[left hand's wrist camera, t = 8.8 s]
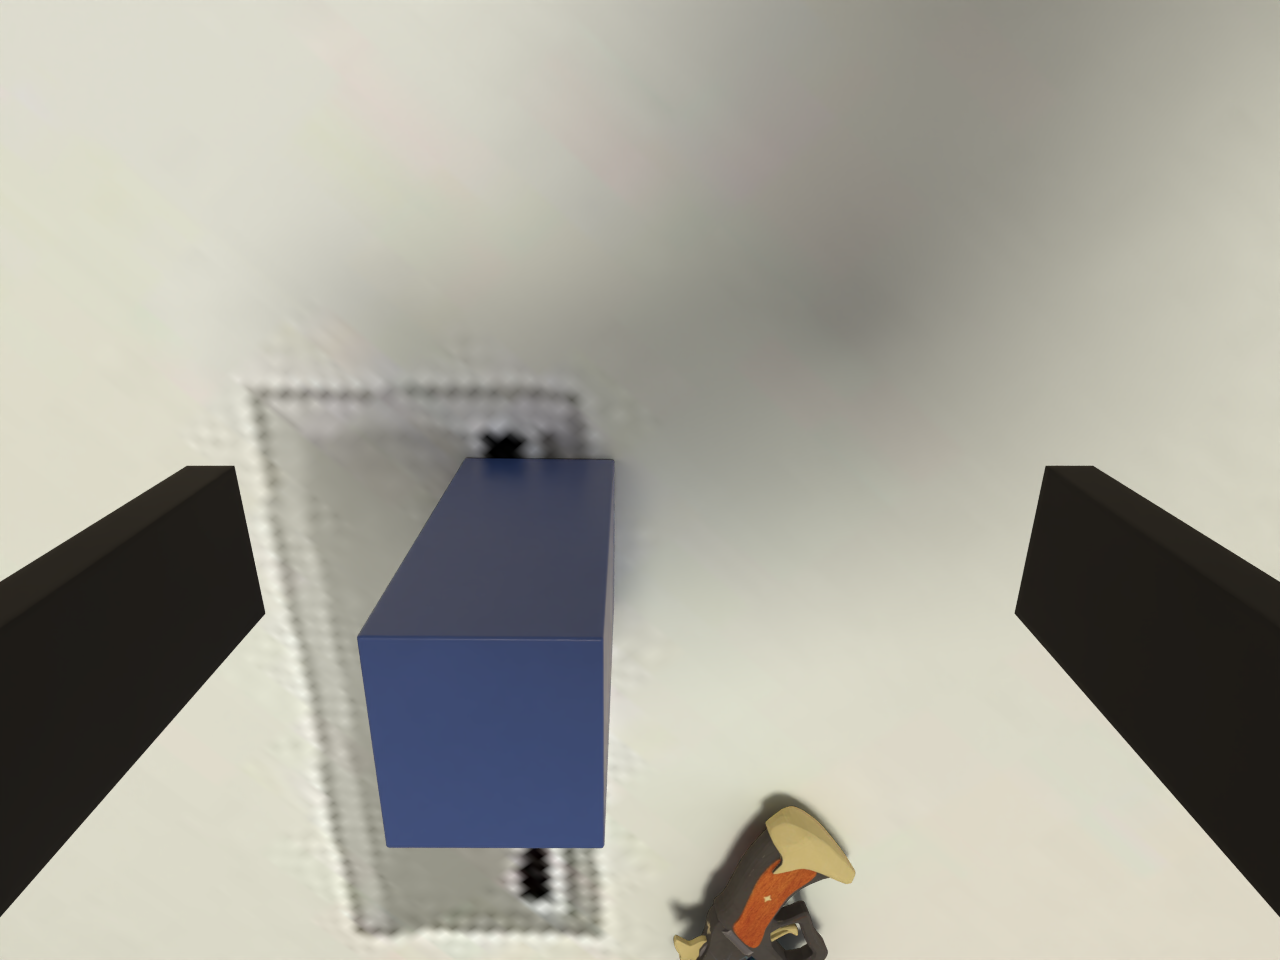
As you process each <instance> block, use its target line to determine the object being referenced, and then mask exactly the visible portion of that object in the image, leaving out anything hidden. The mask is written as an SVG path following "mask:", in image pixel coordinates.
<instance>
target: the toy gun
mask: <svg viewBox="0 0 1280 960" xmlns="http://www.w3.org/2000/svg"><path fill="white" fill-rule="evenodd" d="M766 826H767V829H766V830H764V831H763V832H762V834H761V835H760V836H759V837H758V838H757V839H756V840H755V842H754V843H753V844H752V845H751V846H750V848H749V849H748V850H747V852H746V853H745V855H744V856H743V857H742V859H741V861H740V862H739V864H738V866H737V868H736V870H735V871H734V873H733V875H732V877H731V879H730V881H729V883H728V885H727V886H726V888H725V889H724V890H723V892H722V893H720V894H719V895H718V896H717V897H716V898H715V899H714V904H713V905H712V907H711V908H710V909H709V911H708V914H707V918H706V924H705V928H704V930H703V933H702V935H701V936H699V937H696V938H694V939H692V940H690V941H688V940H686V939H684V938H682V937H680V936H678V935H675V936H674V939H673V940H674V945H675V948H676V950H677V952H678V953H679V957H680V960H825V958H826V956H827V954H828V950H827V948H826V946H825V943H824V941H823V938H822V937H821V936H820V934H819V933H818V932H817V931H816V930H815V928H814V927H813V925H812V921H811V917H810V914H809V912H808V909H807V907H806V905H805V902H804V901H798V902H795V903H793V904H790V905H788V906H785V907H782V906H783V905H784V904H785V903H786V902H787V901H788V899H789V898H790V897H791V896H792V895H793V894H794V893H796V892H797V891H799V890H800V889H802V888H804V887H806V886H808V885H810V884H812V883H815V882H817V881H820V880H822V879H826V878H832V879H835V880H837V881H840V882H842V883H845V884H849V883H852V881H853V878H854V876H855V870H854V868H853V867H852V865H851V863H850V862H849V860H848V858H847V857H846V855H845V854H844V853H843V851H842V850H841V848H840V847H839V846H838V844H837V843H836V842H835V841H834V839H833V838H832V837H831V836H830V835H829V833H828V832H827V831H826V830H825V828H824V827H823V826H822V825H821V824H820V823H819V822H818V821H817V820H816V819H814V818H813V817H812V816H810V815H809V814H808V813H806V812H805V811H803V810H801V809H799V808H797V807H794V806H789V807H786V808H783V809H781V810H780V811H778V812H777V813H776V814H775V815H773V816H772V817H771V818H770V819H768V820H767V821H766ZM795 923H799V924H800V927H801V929H802V932H803V935H804V937H805V940H806V942H807V944H806V945H804V946H802V947H801V948H797V949H793V950H785V949H784V948H783V947H782V946H781V945H780V944H779V943H778V942H777V941H776V939H778V938H779V937H781V936H783V935H785V934H787V933H792V934H794V935H796V936H797V935H798V929H797V926H796V924H795Z"/></svg>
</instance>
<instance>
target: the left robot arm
mask: <svg viewBox="0 0 1280 960" xmlns="http://www.w3.org/2000/svg"><path fill="white" fill-rule="evenodd" d="M264 614H265V609H264V605H263V600H262V595H261V590H260V586H259V581H258V576H257V571H256V566H255V562H254V557H253V552H252V547H251V543H250V538H249V533H248V528H247V524H246V519H245V514H244V509H243V505H242V500H241V495H240V490H239V486H238V481H237V476H236V471H235V467H234V466H186V467H184V468H183V469H181V470H180V471H178V472H176V473H175V474H173V475H171V476H170V477H168V478H167V479H165V480H163V481H162V482H160V483H159V484H157V485H155V486H154V487H152V488H151V489H149V490H147V491H146V492H144V493H143V494H141V495H139V496H138V497H136V498H134V499H133V500H131V501H130V502H128V503H126V504H125V505H123V506H122V507H120V508H118V509H117V510H115V511H114V512H112V513H110V514H109V515H107V516H105V517H104V518H102V519H101V520H99V521H97V522H96V523H94V524H93V525H91V526H89V527H88V528H86V529H85V530H83V531H81V532H80V533H78V534H77V535H75V536H73V537H72V538H70V539H68V540H67V541H65V542H64V543H62V544H60V545H59V546H57V547H56V548H54V549H52V550H51V551H49V552H48V553H46V554H44V555H43V556H41V557H39V558H38V559H36V560H35V561H33V562H31V563H30V564H28V565H27V566H25V567H23V568H22V569H20V570H19V571H17V572H15V573H14V574H12V575H11V576H9V577H7V578H6V579H4V580H2V581H1V582H0V917H1V916H2V914H3V913H4V912H5V911H6V910H7V909H8V908H9V906H10V905H11V904H12V903H13V902H14V901H15V900H16V898H17V897H18V896H19V895H20V894H21V893H22V892H23V890H24V889H25V888H26V887H27V886H28V885H29V884H30V882H31V881H32V880H33V879H34V878H35V877H36V876H37V874H38V873H39V872H40V871H41V870H42V869H43V868H44V866H45V865H46V864H47V863H48V862H49V861H50V859H51V858H52V857H53V856H54V855H55V854H56V853H57V851H58V850H59V849H60V848H61V847H62V846H63V845H64V843H65V842H66V841H67V840H68V839H69V838H70V837H71V835H72V834H73V833H74V832H75V831H76V830H77V829H78V827H79V826H80V825H81V824H82V823H83V822H84V821H85V819H86V818H87V817H88V816H89V815H90V814H91V813H92V811H93V810H94V809H95V808H96V807H97V806H98V805H99V803H100V802H101V801H102V800H103V799H104V798H105V797H106V795H107V794H108V793H109V792H110V791H111V790H112V788H113V787H114V786H115V785H116V784H117V783H118V782H119V780H120V779H121V778H122V777H123V776H124V775H125V774H126V772H127V771H128V770H129V769H130V768H131V767H132V766H133V764H134V763H135V762H136V761H137V760H138V759H139V758H140V756H141V755H142V754H143V753H144V752H145V751H146V750H147V748H148V747H149V746H150V745H151V744H152V743H153V742H154V740H155V739H156V738H157V737H158V736H159V735H160V734H161V732H162V731H163V730H164V729H165V728H166V727H167V726H168V724H169V723H170V722H171V721H172V720H173V719H174V717H175V716H176V715H177V714H178V713H179V712H180V711H181V709H182V708H183V707H184V706H185V705H186V704H187V703H188V701H189V700H190V699H191V698H192V697H193V696H194V695H195V693H196V692H197V691H198V690H199V689H200V688H201V687H202V685H203V684H204V683H205V682H206V681H207V680H208V679H209V677H210V676H211V675H212V674H213V673H214V672H215V671H216V669H217V668H218V667H219V666H220V665H221V664H222V663H223V661H224V660H225V659H226V658H227V657H228V656H229V655H230V653H231V652H232V651H233V650H234V649H235V648H236V646H237V645H238V644H239V643H240V642H241V641H242V640H243V638H244V637H245V636H246V635H247V634H248V633H249V632H250V630H251V629H252V628H253V627H254V626H255V625H256V624H257V622H258V621H259V620H260V619H261V618H262V617H263V616H264ZM1015 614H1016V616H1017V617H1018V618H1019V619H1020V620H1021V621H1022V622H1023V624H1024V625H1025V626H1026V627H1027V628H1028V629H1029V630H1030V632H1031V633H1032V634H1033V635H1034V636H1035V637H1036V638H1037V640H1038V641H1039V642H1040V643H1041V644H1042V645H1043V646H1044V648H1045V649H1046V650H1047V651H1048V652H1049V653H1050V655H1051V656H1052V657H1053V658H1054V659H1055V660H1056V661H1057V663H1058V664H1059V665H1060V666H1061V667H1062V668H1063V669H1064V671H1065V672H1066V673H1067V674H1068V675H1069V676H1070V677H1071V679H1072V680H1073V681H1074V682H1075V683H1076V684H1077V685H1078V687H1079V688H1080V689H1081V690H1082V691H1083V692H1084V693H1085V695H1086V696H1087V697H1088V698H1089V699H1090V700H1091V701H1092V703H1093V704H1094V705H1095V706H1096V707H1097V708H1098V709H1099V711H1100V712H1101V713H1102V714H1103V715H1104V716H1105V717H1106V719H1107V720H1108V721H1109V722H1110V723H1111V724H1112V726H1113V727H1114V728H1115V729H1116V730H1117V731H1118V732H1119V734H1120V735H1121V736H1122V737H1123V738H1124V739H1125V740H1126V742H1127V743H1128V744H1129V745H1130V746H1131V747H1132V748H1133V750H1134V751H1135V752H1136V753H1137V754H1138V755H1139V756H1140V758H1141V759H1142V760H1143V761H1144V762H1145V763H1146V764H1147V766H1148V767H1149V768H1150V769H1151V770H1152V771H1153V772H1154V774H1155V775H1156V776H1157V777H1158V778H1159V779H1160V780H1161V782H1162V783H1163V784H1164V785H1165V786H1166V787H1167V788H1168V790H1169V791H1170V792H1171V793H1172V794H1173V795H1174V797H1175V798H1176V799H1177V800H1178V801H1179V802H1180V803H1181V805H1182V806H1183V807H1184V808H1185V809H1186V810H1187V811H1188V813H1189V814H1190V815H1191V816H1192V817H1193V818H1194V819H1195V821H1196V822H1197V823H1198V824H1199V825H1200V826H1201V827H1202V829H1203V830H1204V831H1205V832H1206V833H1207V834H1208V835H1209V837H1210V838H1211V839H1212V840H1213V841H1214V842H1215V843H1216V845H1217V846H1218V847H1219V848H1220V849H1221V850H1222V851H1223V853H1224V854H1225V855H1226V856H1227V857H1228V858H1229V859H1230V861H1231V862H1232V863H1233V864H1234V865H1235V866H1236V868H1237V869H1238V870H1239V871H1240V872H1241V873H1242V874H1243V876H1244V877H1245V878H1246V879H1247V880H1248V881H1249V882H1250V884H1251V885H1252V886H1253V887H1254V888H1255V889H1256V890H1257V892H1258V893H1259V894H1260V895H1261V896H1262V897H1263V898H1264V900H1265V901H1266V902H1267V903H1268V904H1269V905H1270V906H1271V908H1272V909H1273V910H1274V911H1275V912H1276V913H1277V914H1278V916H1279V917H1280V582H1279V581H1278V580H1276V579H1274V578H1273V577H1271V576H1269V575H1268V574H1266V573H1265V572H1263V571H1261V570H1260V569H1258V568H1257V567H1255V566H1253V565H1252V564H1250V563H1249V562H1247V561H1245V560H1244V559H1242V558H1241V557H1239V556H1237V555H1236V554H1234V553H1232V552H1231V551H1229V550H1228V549H1226V548H1224V547H1223V546H1221V545H1220V544H1218V543H1216V542H1215V541H1213V540H1212V539H1210V538H1208V537H1207V536H1205V535H1203V534H1202V533H1200V532H1199V531H1197V530H1195V529H1194V528H1192V527H1191V526H1189V525H1187V524H1186V523H1184V522H1183V521H1181V520H1179V519H1178V518H1176V517H1175V516H1173V515H1171V514H1170V513H1168V512H1166V511H1165V510H1163V509H1162V508H1160V507H1158V506H1157V505H1155V504H1154V503H1152V502H1150V501H1149V500H1147V499H1146V498H1144V497H1142V496H1141V495H1139V494H1137V493H1136V492H1134V491H1133V490H1131V489H1129V488H1128V487H1126V486H1125V485H1123V484H1121V483H1120V482H1118V481H1117V480H1115V479H1113V478H1112V477H1110V476H1109V475H1107V474H1105V473H1104V472H1102V471H1100V470H1099V469H1097V468H1096V467H1094V466H1046V467H1045V471H1044V476H1043V481H1042V486H1041V490H1040V495H1039V500H1038V505H1037V509H1036V514H1035V519H1034V524H1033V528H1032V533H1031V538H1030V543H1029V547H1028V552H1027V557H1026V562H1025V566H1024V571H1023V576H1022V581H1021V586H1020V590H1019V595H1018V600H1017V605H1016V609H1015Z"/></svg>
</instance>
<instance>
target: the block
mask: <svg viewBox="0 0 1280 960" xmlns="http://www.w3.org/2000/svg"><path fill="white" fill-rule="evenodd" d="M613 615H614V460H582V459H493V458H466V459H465V460H464V461H463V463H462V465H461V466H460V468H459V469H458V471H457V473H456V474H455V476H454V478H453V479H452V481H451V483H450V484H449V486H448V488H447V489H446V491H445V493H444V494H443V496H442V498H441V499H440V501H439V502H438V504H437V506H436V507H435V509H434V511H433V512H432V514H431V516H430V517H429V519H428V521H427V522H426V524H425V526H424V527H423V529H422V531H421V532H420V534H419V535H418V537H417V539H416V540H415V542H414V544H413V545H412V547H411V549H410V550H409V552H408V554H407V555H406V557H405V559H404V560H403V562H402V563H401V565H400V567H399V568H398V570H397V572H396V573H395V575H394V577H393V578H392V580H391V582H390V583H389V585H388V587H387V588H386V590H385V592H384V593H383V595H382V596H381V598H380V600H379V601H378V603H377V605H376V606H375V608H374V610H373V611H372V613H371V615H370V616H369V618H368V620H367V621H366V623H365V625H364V626H363V628H362V629H361V631H360V633H359V634H358V636H357V640H358V648H359V655H360V662H361V669H362V676H363V683H364V690H365V697H366V704H367V711H368V718H369V725H370V732H371V740H372V747H373V754H374V761H375V768H376V775H377V782H378V789H379V796H380V803H381V810H382V817H383V824H384V831H385V839H386V846H387V847H389V848H603V846H604V841H605V816H606V790H607V765H608V740H609V715H610V690H611V665H612V640H613Z"/></svg>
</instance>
